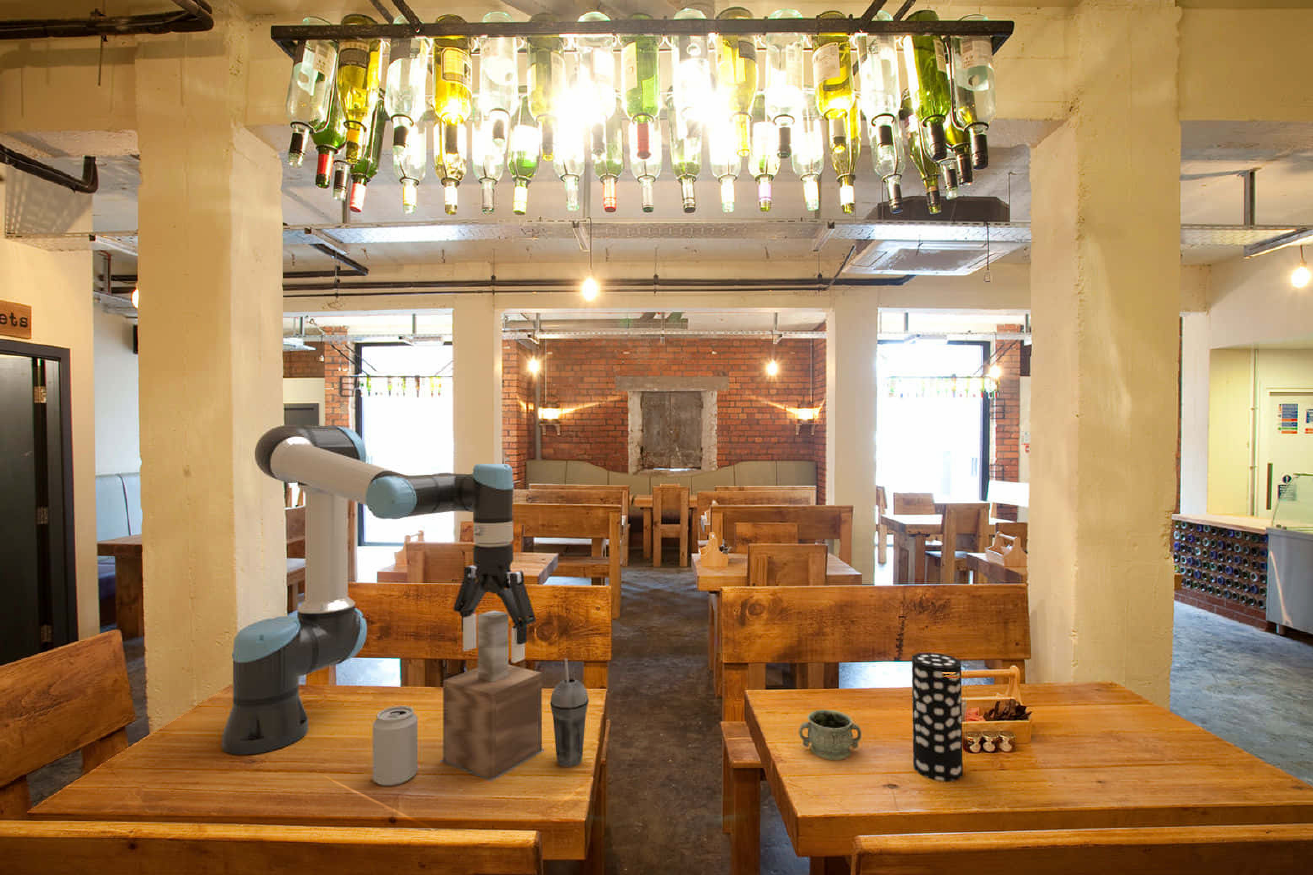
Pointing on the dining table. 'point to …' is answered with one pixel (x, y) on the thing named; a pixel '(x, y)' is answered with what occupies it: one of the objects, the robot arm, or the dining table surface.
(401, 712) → the can
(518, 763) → the mat
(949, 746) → the white-spotted black cylinder
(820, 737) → the vessel
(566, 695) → the beverage cup
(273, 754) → the dining table surface
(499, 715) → the wooden block with peg
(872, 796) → the dining table surface
